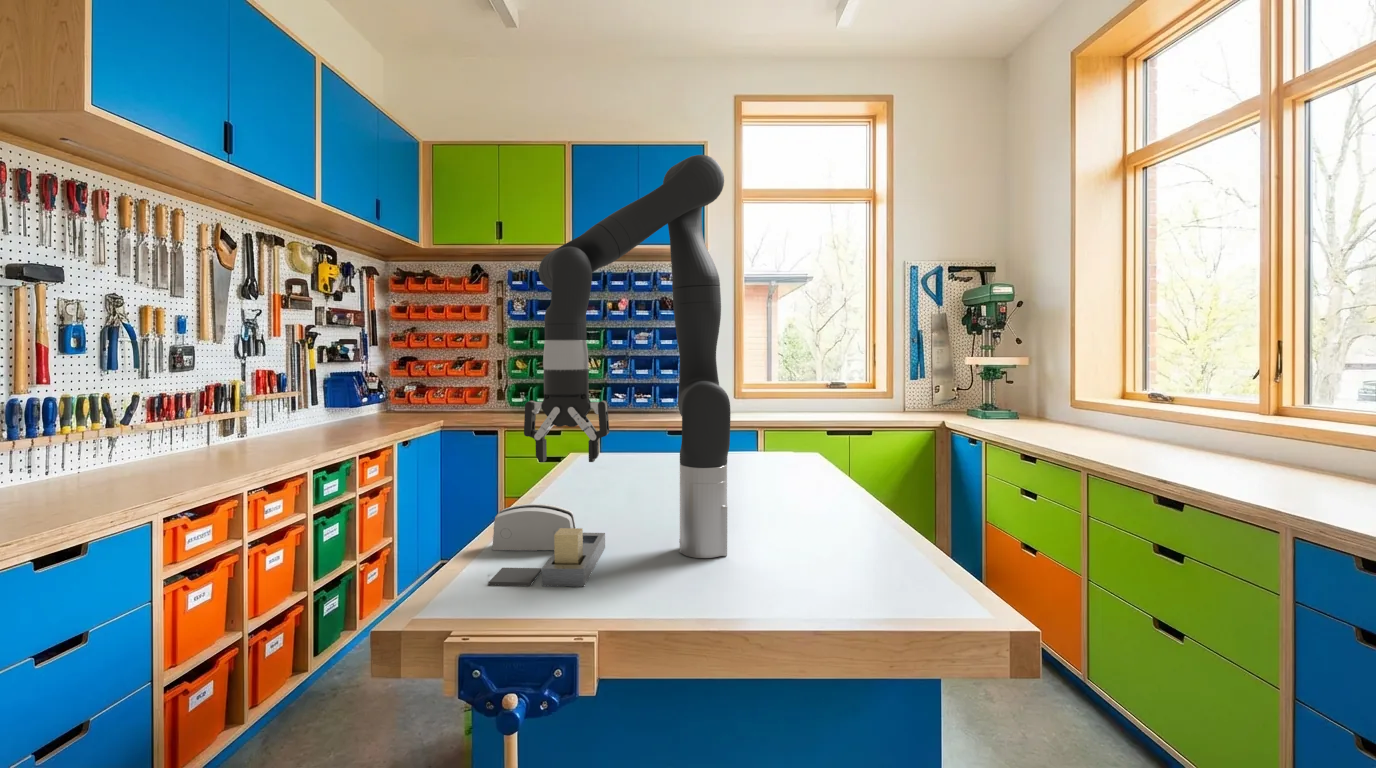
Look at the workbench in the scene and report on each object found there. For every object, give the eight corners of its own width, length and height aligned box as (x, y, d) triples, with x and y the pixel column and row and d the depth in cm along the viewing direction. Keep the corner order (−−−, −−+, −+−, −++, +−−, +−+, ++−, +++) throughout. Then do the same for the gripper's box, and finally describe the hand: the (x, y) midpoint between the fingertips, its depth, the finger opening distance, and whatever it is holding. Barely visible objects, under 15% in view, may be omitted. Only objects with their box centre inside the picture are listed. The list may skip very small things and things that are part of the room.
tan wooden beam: (582, 573, 112) (582, 528, 111) (578, 581, 108) (577, 534, 107) (560, 573, 112) (560, 528, 112) (554, 581, 108) (554, 534, 108)
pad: (541, 571, 113) (541, 568, 113) (530, 586, 106) (530, 582, 106) (502, 570, 113) (502, 567, 113) (488, 585, 106) (488, 581, 106)
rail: (605, 547, 126) (605, 532, 126) (583, 586, 105) (583, 569, 105) (570, 547, 127) (570, 532, 126) (542, 586, 106) (541, 568, 105)
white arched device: (580, 547, 129) (579, 500, 127) (576, 558, 125) (574, 510, 123) (498, 546, 130) (495, 500, 127) (491, 557, 125) (488, 509, 123)
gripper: (611, 366, 112) (612, 458, 113) (531, 366, 113) (532, 457, 113) (603, 367, 104) (604, 465, 105) (517, 367, 105) (519, 465, 106)
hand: (567, 461), depth 109 cm, fingers open, 8 cm apart
